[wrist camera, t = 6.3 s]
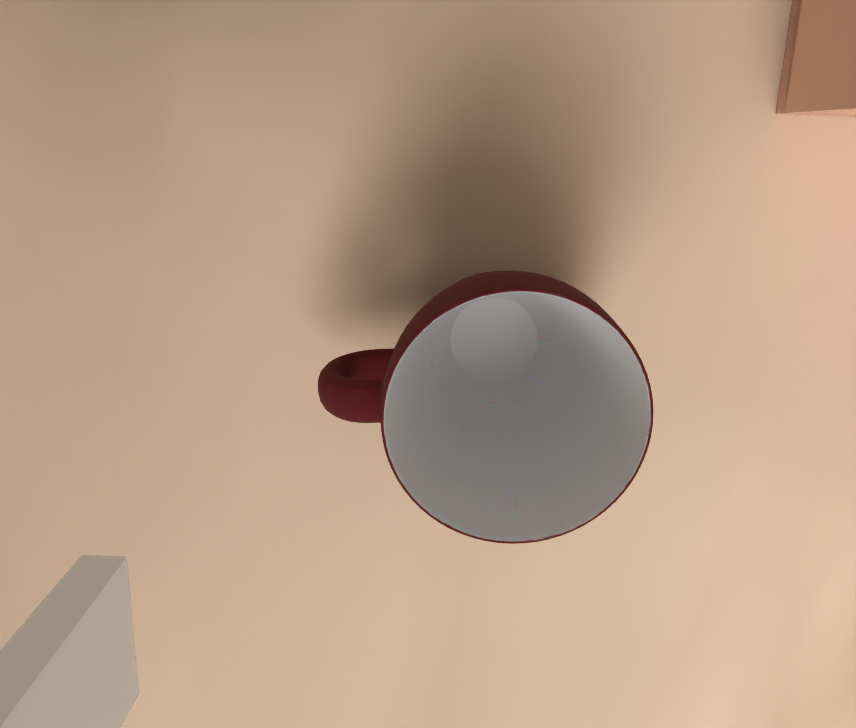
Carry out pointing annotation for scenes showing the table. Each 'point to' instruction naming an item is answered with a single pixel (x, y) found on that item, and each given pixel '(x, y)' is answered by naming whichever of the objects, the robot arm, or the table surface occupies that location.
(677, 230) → the table surface
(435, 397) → the mug
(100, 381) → the table surface
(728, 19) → the table surface
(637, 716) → the table surface
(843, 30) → the tan open box
